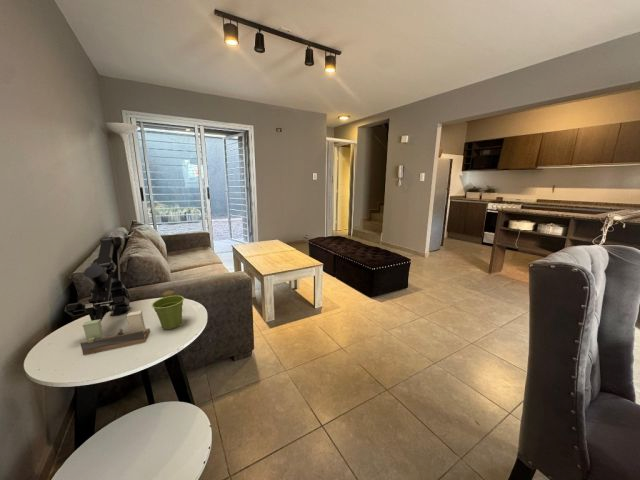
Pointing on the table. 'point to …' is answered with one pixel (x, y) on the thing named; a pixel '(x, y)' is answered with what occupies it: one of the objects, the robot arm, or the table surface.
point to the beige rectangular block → (136, 321)
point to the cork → (169, 293)
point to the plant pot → (169, 311)
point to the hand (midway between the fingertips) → (95, 327)
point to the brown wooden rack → (114, 341)
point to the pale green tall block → (93, 329)
